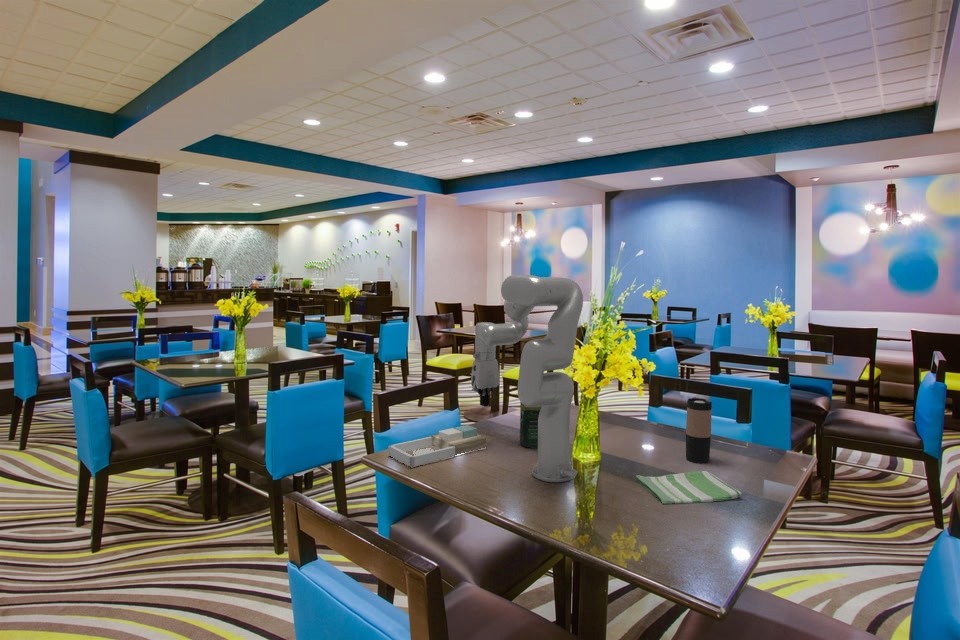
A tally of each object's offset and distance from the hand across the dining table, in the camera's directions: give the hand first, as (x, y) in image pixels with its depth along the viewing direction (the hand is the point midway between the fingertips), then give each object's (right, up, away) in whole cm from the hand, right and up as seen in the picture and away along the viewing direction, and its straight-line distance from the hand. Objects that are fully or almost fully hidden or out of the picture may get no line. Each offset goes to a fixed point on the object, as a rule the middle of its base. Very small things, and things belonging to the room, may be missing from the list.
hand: (484, 405), depth 192 cm
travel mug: (+71, -15, -19) cm, 75 cm away
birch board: (-9, -14, -7) cm, 18 cm away
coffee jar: (+17, -14, -3) cm, 22 cm away
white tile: (-12, -10, -9) cm, 18 cm away
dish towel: (+57, -18, -43) cm, 74 cm away
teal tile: (-7, -10, -5) cm, 13 cm away
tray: (-21, -14, -17) cm, 31 cm away
